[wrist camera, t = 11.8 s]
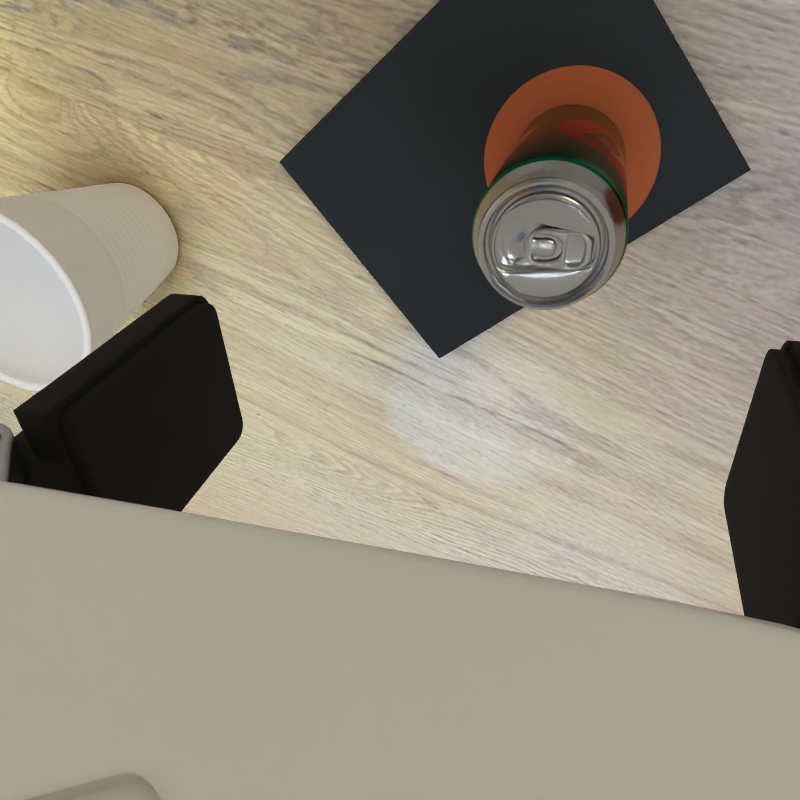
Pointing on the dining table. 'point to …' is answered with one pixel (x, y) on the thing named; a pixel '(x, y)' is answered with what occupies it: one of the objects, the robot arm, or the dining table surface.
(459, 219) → the placemat
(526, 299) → the soda can
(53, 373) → the cup
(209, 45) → the dining table surface
